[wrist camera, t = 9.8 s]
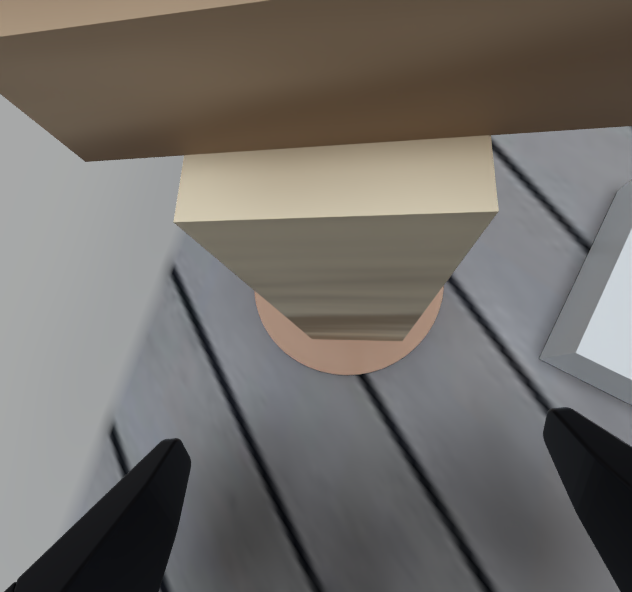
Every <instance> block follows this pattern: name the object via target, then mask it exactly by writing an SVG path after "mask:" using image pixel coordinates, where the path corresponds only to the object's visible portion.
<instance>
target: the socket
mask: <svg viewBox="0 0 632 592" xmlns="http://www.w3.org/2000/svg"><path fill="white" fill-rule="evenodd" d="M539 359H540V360H542V361H544V362H546V363H548V364H550V365H552V366H554V367H556V368H558V369H560V370H562V371H564V372H566V373H568V374H570V375H572V376H574V377H576V378H578V379H580V380H582V381H584V382H586V383H588V384H590V385H592V386H594V387H596V388H598V389H600V390H602V391H604V392H606V393H608V394H610V395H612V396H614V397H616V398H618V399H620V400H622V401H624V402H626V403H628V404H630V405H632V180H631V181H629V182H628V183H627V184H625V185H624V186H623V187H622V188H620V189H619V190H618V191H617V193H616V196H615V198H614V200H613V202H612V204H611V206H610V208H609V210H608V213H607V215H606V217H605V219H604V221H603V223H602V225H601V228H600V230H599V232H598V234H597V236H596V238H595V240H594V243H593V245H592V247H591V249H590V251H589V253H588V255H587V257H586V260H585V262H584V264H583V266H582V268H581V270H580V272H579V275H578V277H577V279H576V281H575V283H574V285H573V287H572V289H571V292H570V294H569V296H568V298H567V300H566V302H565V304H564V307H563V309H562V311H561V313H560V315H559V317H558V319H557V321H556V324H555V326H554V328H553V330H552V332H551V334H550V336H549V339H548V341H547V343H546V345H545V347H544V349H543V351H542V353H541V356H540V358H539Z"/></svg>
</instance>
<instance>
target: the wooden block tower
mask: <svg viewBox="0 0 632 592" xmlns="http://www.w3.org/2000/svg"><path fill="white" fill-rule="evenodd" d="M0 94H1V95H2V96H4V97H5V98H6V99H7V100H9V101H10V102H11V103H12V104H14V105H15V106H16V107H18V108H19V109H20V110H21V111H22V112H24V113H25V114H26V115H27V116H29V117H30V118H31V119H32V120H34V121H35V122H36V123H38V124H39V125H40V126H41V127H43V128H44V129H45V130H46V131H48V132H49V133H50V134H51V135H53V136H54V137H55V138H56V139H58V140H59V141H60V142H61V143H63V144H64V145H65V146H67V147H68V148H69V149H70V150H71V151H73V152H74V153H75V154H77V155H78V156H79V157H80V158H82V159H83V160H84V161H85V162H89V161H103V160H120V159H134V158H148V157H165V156H180V155H184V160H183V167H182V173H181V179H180V186H179V192H178V197H177V204H176V211H175V216H174V223H175V224H176V225H177V226H179V227H180V228H181V229H182V230H183V231H185V232H186V233H187V234H188V235H189V236H190V237H192V238H193V239H194V240H195V241H196V242H198V243H199V244H200V245H201V246H202V247H203V248H205V249H206V250H207V251H208V252H209V253H211V254H212V255H213V256H214V257H215V258H217V259H218V260H219V261H220V262H221V263H222V264H224V265H225V266H226V267H227V268H228V269H230V270H231V271H232V272H233V273H234V274H235V275H237V276H238V277H239V278H240V279H241V280H243V281H244V282H245V283H246V284H247V285H248V286H250V287H251V288H252V289H253V290H254V291H256V292H257V293H258V294H259V295H260V296H262V297H263V298H264V299H265V300H266V301H267V302H269V303H270V304H271V305H272V306H273V307H275V308H276V309H277V310H278V311H279V312H280V313H282V314H283V315H284V316H285V317H286V318H288V319H289V320H290V321H291V322H292V323H293V324H295V325H296V326H297V327H298V328H299V329H301V330H302V331H303V332H304V333H305V334H307V335H308V336H309V337H310V338H311V339H320V340H365V341H403V340H404V338H405V337H406V336H407V334H408V333H409V332H410V330H411V329H412V327H413V326H414V325H415V323H416V322H417V321H418V319H419V318H420V317H421V315H422V314H423V313H424V311H425V310H426V309H427V307H428V306H429V305H430V303H431V302H432V301H433V299H434V298H435V296H436V295H437V294H438V292H439V291H440V290H441V288H442V287H443V286H444V284H445V283H446V282H447V280H448V279H449V278H450V276H451V275H452V274H453V272H454V271H455V269H456V268H457V267H458V265H459V264H460V263H461V261H462V260H463V259H464V257H465V256H466V255H467V253H468V252H469V251H470V249H471V248H472V247H473V245H474V244H475V242H476V241H477V240H478V238H479V237H480V236H481V234H482V233H483V232H484V230H485V229H486V228H487V226H488V225H489V224H490V222H491V221H492V220H493V218H494V217H495V216H496V214H497V213H498V201H497V191H496V182H495V172H494V162H493V153H492V143H491V135H500V134H516V133H531V132H546V131H561V130H577V129H592V128H607V127H622V126H632V0H0Z"/></svg>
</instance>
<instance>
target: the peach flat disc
mask: <svg viewBox="0 0 632 592" xmlns="http://www.w3.org/2000/svg"><path fill="white" fill-rule="evenodd" d="M443 289H444V286H443V287H442V288H441V290H440V291H439V292H438V294H437V295H436V296H435V298H434V299H433V301H432V302H431V303H430V305H429V306H428V307H427V309H426V310H425V311H424V313H423V314H422V315H421V317H420V318H419V319H418V321H417V322H416V323H415V325H414V326H413V327H412V329H411V330H410V332H409V333H408V334H407V336H406V337H405V338H404V340H403V341H365V340H320V339H311V338H310V337H309V336H308V335H307V334H305V333H304V332H303V331H302V330H301V329H299V328H298V327H297V326H296V325H295V324H293V323H292V322H291V321H290V320H289V319H288V318H286V317H285V316H284V315H283V314H282V313H280V312H279V311H278V310H277V309H276V308H275V307H273V306H272V305H271V304H270V303H269V302H267V301H266V300H265V299H264V298H263V297H262V296H260V295H259V294H258V293H257V292H256V291H255V300H256V305H257V309H258V313H259V316H260V318H261V320H262V323H263V325H264V327H265V329H266V330H267V332H268V334H269V335H270V337H271V338H272V339H273V340H274V342H275V343H276V344H277V345H278V346H279V347H280V348H281V349H282V350H283V351H284V352H285V353H286V354H288V355H289V356H290V357H292V358H293V359H295V360H296V361H298V362H300V363H302V364H304V365H305V366H307V367H310V368H313V369H316V370H318V371H321V372H326V373H330V374H337V375H360V374H365V373H370V372H374V371H377V370H380V369H383V368H385V367H388V366H390V365H392V364H394V363H396V362H397V361H399V360H400V359H402V358H403V357H405V356H406V355H407V354H409V353H410V352H411V351H412V350H413V349H414V348H415V347H416V346H418V345H419V343H420V342H421V341H422V340H423V339H424V337H425V336H426V335H427V333H428V332H429V330H430V329H431V327H432V325H433V324H434V322H435V319H436V317H437V315H438V313H439V309H440V306H441V302H442V297H443Z"/></svg>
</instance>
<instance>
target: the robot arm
mask: <svg viewBox="0 0 632 592" xmlns="http://www.w3.org/2000/svg"><path fill="white" fill-rule="evenodd" d="M543 437H544V441H545V444H546V446H547V449H548V451H549V453H550V455H551V458H552V460H553V462H554V464H555V467H556V469H557V471H558V473H559V476H560V478H561V480H562V482H563V485H564V487H565V489H566V491H567V494H568V496H569V498H570V500H571V502H572V505H573V507H574V509H575V511H576V513H577V515H578V517H579V518H580V520H581V522H582V524H583V526H584V528H585V529H586V531H587V533H588V535H589V536H590V538H591V540H592V542H593V544H594V545H595V547H596V549H597V551H598V552H599V554H600V556H601V558H602V559H603V561H604V563H605V565H606V567H607V568H608V570H609V572H610V574H611V575H612V577H613V579H614V581H615V582H616V584H617V586H618V588H619V590H620V591H621V592H632V447H631V446H630V445H628V444H627V443H625V442H623V441H622V440H620V439H619V438H617V437H616V436H614V435H612V434H611V433H609V432H608V431H606V430H605V429H603V428H602V427H600V426H598V425H597V424H595V423H594V422H592V421H591V420H589V419H587V418H586V417H584V416H583V415H581V414H580V413H578V412H576V411H575V410H573V409H571V408H568V407H563V408H552V409H550V410H549V411H548V412H547V417H546V421H545V426H544V430H543ZM190 469H191V459H190V456H189V454H188V453H187V451H186V449H185V447H184V445H183V443H182V441H181V440H180V439H178V438H175V439H165V440H163V441H161V442H160V443H159V444H158V445H157V446H156V447H155V448H154V449H153V450H152V451H151V452H150V453H148V454H147V455H146V456H145V457H144V458H143V459H142V460H141V461H140V462H139V463H138V464H137V465H136V466H135V467H134V468H133V469H132V470H131V471H130V472H129V473H128V474H127V475H126V476H124V477H123V478H122V479H121V480H120V481H119V482H118V483H117V484H116V485H115V486H114V487H113V488H112V489H111V490H110V491H109V492H108V493H107V494H106V495H105V496H104V497H103V498H102V499H100V500H99V501H98V502H97V503H96V504H95V505H94V506H93V507H92V508H91V509H90V510H89V511H88V512H87V513H86V514H85V515H84V516H83V517H82V518H81V519H80V520H79V521H78V522H76V523H75V524H74V525H73V526H72V527H71V528H70V529H69V530H68V531H67V532H66V533H65V534H64V535H63V536H62V537H61V538H60V539H59V540H58V541H57V542H56V543H55V544H54V545H53V546H52V547H50V548H49V549H48V550H47V551H46V552H45V553H44V554H43V555H42V556H41V557H40V558H39V559H38V560H37V561H36V562H35V563H34V564H33V565H32V566H31V567H30V568H29V569H27V570H26V571H25V572H24V573H23V574H22V575H21V576H20V577H19V578H18V580H17V582H14V583H13V584H12V585H11V586H10V587H9V588H8V589H6V591H4V592H159V588H160V585H161V582H162V579H163V576H164V572H165V569H166V566H167V563H168V559H169V556H170V553H171V550H172V546H173V543H174V540H175V536H176V533H177V529H178V525H179V521H180V516H181V511H182V507H183V502H184V497H185V492H186V488H187V483H188V478H189V474H190Z"/></svg>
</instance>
